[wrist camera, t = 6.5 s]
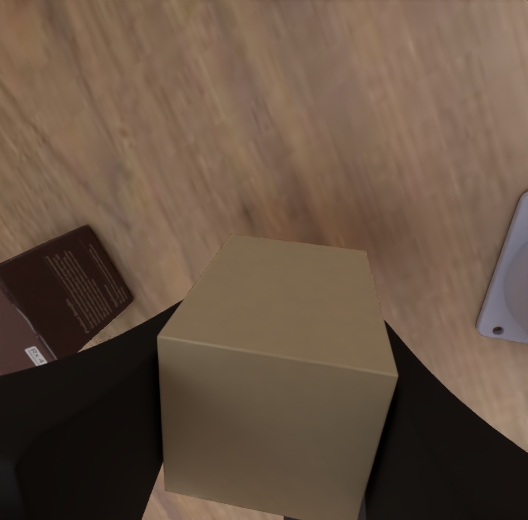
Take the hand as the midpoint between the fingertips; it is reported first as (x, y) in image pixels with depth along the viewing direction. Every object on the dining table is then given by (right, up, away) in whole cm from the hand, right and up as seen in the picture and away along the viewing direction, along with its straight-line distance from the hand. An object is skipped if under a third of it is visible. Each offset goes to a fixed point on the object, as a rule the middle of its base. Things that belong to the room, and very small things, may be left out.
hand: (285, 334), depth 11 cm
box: (-13, +1, +15) cm, 20 cm away
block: (0, +1, +2) cm, 2 cm away
